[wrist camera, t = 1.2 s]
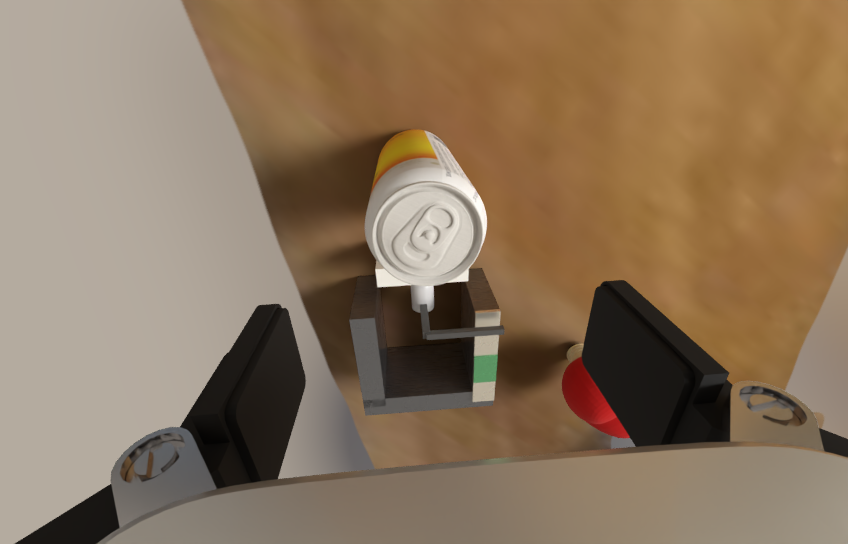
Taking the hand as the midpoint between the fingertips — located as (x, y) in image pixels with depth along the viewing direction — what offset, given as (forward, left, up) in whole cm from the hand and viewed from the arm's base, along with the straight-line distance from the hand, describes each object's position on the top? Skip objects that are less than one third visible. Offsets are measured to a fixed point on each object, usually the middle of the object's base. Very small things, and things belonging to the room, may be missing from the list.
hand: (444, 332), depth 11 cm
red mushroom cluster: (+21, +17, -22) cm, 35 cm away
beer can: (0, 0, -22) cm, 22 cm away
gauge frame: (+15, 0, -22) cm, 26 cm away
